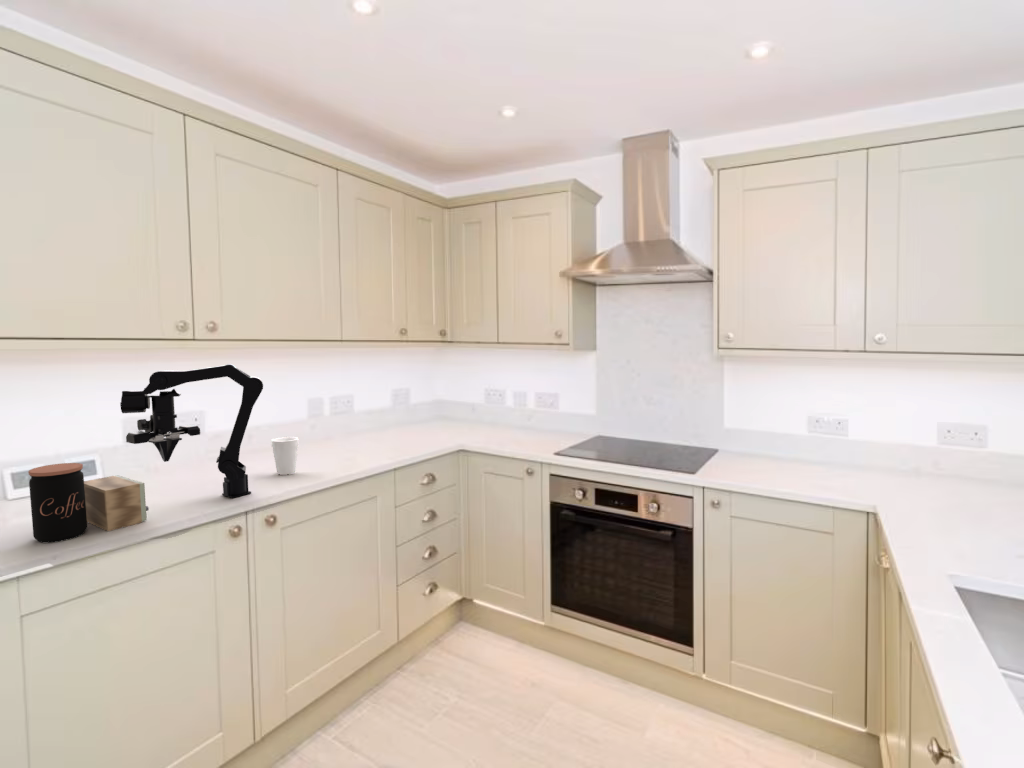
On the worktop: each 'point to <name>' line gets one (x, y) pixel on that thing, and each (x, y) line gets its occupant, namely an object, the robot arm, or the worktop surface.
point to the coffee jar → (57, 502)
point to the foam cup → (285, 454)
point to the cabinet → (112, 502)
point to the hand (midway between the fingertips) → (166, 461)
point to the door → (142, 497)
